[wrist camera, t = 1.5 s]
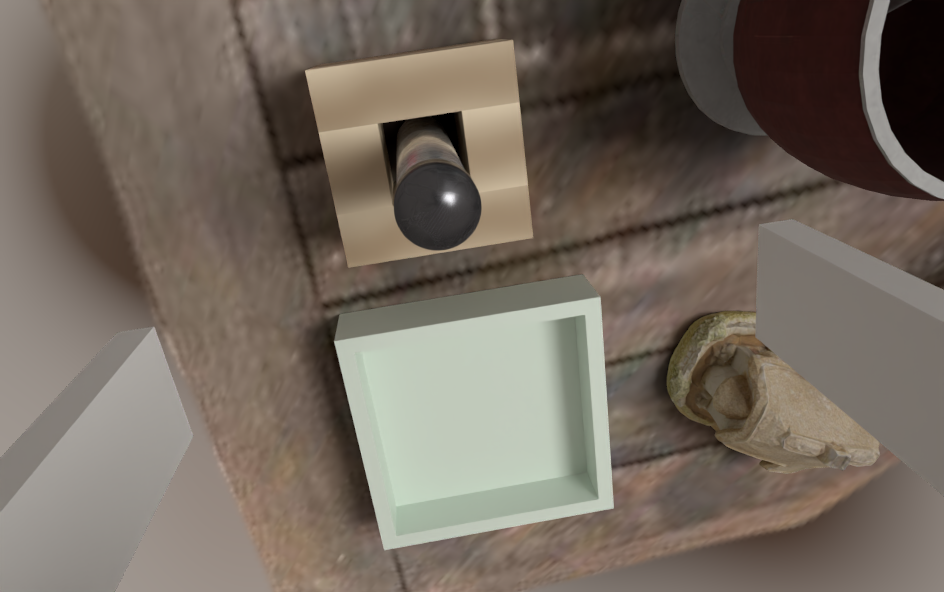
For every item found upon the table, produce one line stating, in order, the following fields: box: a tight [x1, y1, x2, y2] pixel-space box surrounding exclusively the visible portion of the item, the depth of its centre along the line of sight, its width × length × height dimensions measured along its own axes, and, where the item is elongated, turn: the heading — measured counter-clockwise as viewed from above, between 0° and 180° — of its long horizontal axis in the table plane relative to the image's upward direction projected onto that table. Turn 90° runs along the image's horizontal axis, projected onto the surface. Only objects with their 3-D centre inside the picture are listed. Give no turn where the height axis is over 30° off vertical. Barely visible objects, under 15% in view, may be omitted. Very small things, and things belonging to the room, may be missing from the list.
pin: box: [394, 116, 482, 251], centre depth 31 cm, size 3×3×16 cm
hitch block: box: [305, 39, 533, 268], centre depth 36 cm, size 10×10×6 cm
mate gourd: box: [675, 0, 944, 201], centre depth 29 cm, size 16×14×20 cm
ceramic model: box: [667, 311, 880, 474], centre depth 43 cm, size 14×11×10 cm
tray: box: [334, 274, 614, 550], centre depth 44 cm, size 16×16×4 cm
